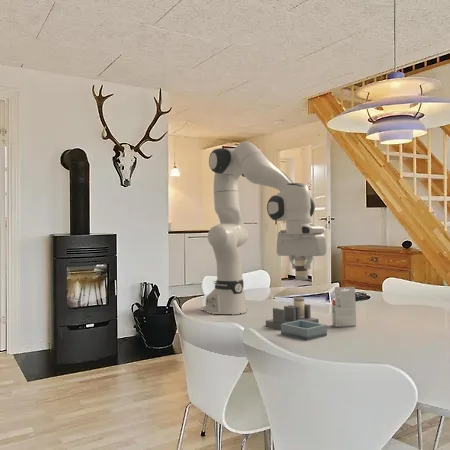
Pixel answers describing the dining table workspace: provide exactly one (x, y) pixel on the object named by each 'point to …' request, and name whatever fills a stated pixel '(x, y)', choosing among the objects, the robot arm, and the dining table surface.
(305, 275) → the cylinder
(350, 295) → the ink box
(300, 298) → the cylinder
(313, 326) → the parts tray
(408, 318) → the dining table surface
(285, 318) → the fuse holder
